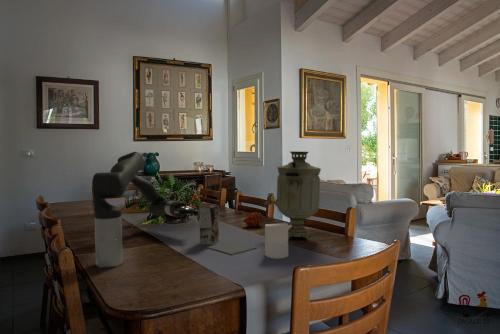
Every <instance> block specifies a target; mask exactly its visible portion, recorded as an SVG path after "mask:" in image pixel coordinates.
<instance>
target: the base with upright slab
mask: <svg viewBox="0 0 500 334" xmlns="http://www.w3.org/2000/svg"><path fill="white" fill-rule="evenodd" d="M288 230H289V224H288V223H285V222H284V223H283V222H282V223H269V224H264V255H266V256H267V257H266V256H265V257H266V258H269V257H270V259H284V258H287V257H289V239H288Z"/></svg>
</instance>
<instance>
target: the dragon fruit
mask: <svg viewBox="0 0 500 334" xmlns="http://www.w3.org/2000/svg"><path fill="white" fill-rule="evenodd" d="M264 221H265V216H264V215H263V214H262V213H261V212H257V211H255V212H252V211H251V212H250V213H249V214H247V215H246V217H245V218H244V220H243V222H244V223H245V225H246V227H254V228H256V227H260V225H262V224H264Z"/></svg>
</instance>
